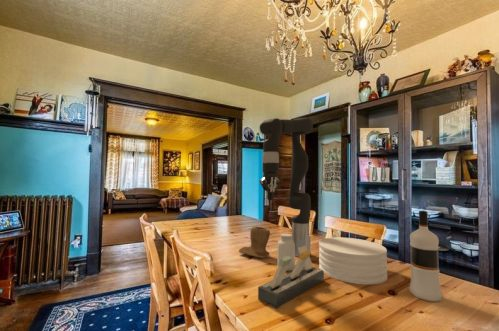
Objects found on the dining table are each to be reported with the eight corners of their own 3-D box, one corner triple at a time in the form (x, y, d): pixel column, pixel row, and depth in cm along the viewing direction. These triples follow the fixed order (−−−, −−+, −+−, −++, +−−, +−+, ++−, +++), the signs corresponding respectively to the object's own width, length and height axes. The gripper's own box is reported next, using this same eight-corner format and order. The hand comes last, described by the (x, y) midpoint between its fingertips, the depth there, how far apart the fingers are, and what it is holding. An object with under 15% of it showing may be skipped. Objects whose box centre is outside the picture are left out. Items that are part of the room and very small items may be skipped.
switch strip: (258, 299, 80) (258, 286, 80) (306, 274, 101) (306, 264, 101) (276, 308, 74) (276, 294, 74) (323, 280, 95) (323, 270, 95)
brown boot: (274, 255, 126) (274, 226, 127) (262, 261, 116) (262, 230, 117) (250, 249, 135) (251, 223, 136) (238, 255, 125) (238, 226, 126)
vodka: (424, 303, 79) (421, 212, 80) (403, 290, 88) (401, 209, 89) (449, 302, 79) (446, 212, 81) (426, 289, 89) (424, 209, 90)
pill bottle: (296, 266, 110) (296, 233, 111) (292, 272, 103) (292, 237, 104) (280, 263, 113) (280, 232, 114) (274, 269, 106) (275, 235, 107)
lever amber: (288, 277, 87) (301, 252, 83) (295, 274, 90) (308, 250, 86) (291, 280, 86) (304, 255, 82) (298, 277, 89) (311, 252, 85)
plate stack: (394, 270, 107) (393, 245, 107) (376, 292, 86) (376, 260, 87) (334, 256, 126) (334, 234, 127) (307, 270, 106) (307, 244, 106)
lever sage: (268, 287, 79) (280, 258, 76) (277, 283, 82) (289, 255, 79) (271, 290, 78) (284, 261, 75) (280, 286, 81) (292, 258, 78)
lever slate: (305, 271, 94) (295, 242, 98) (311, 269, 97) (301, 240, 101) (308, 271, 93) (297, 241, 97) (314, 268, 96) (303, 239, 100)
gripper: (273, 163, 115) (273, 199, 114) (254, 161, 106) (254, 200, 105) (286, 162, 110) (285, 200, 109) (267, 161, 101) (266, 201, 100)
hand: (270, 200), depth 107 cm, fingers closed
